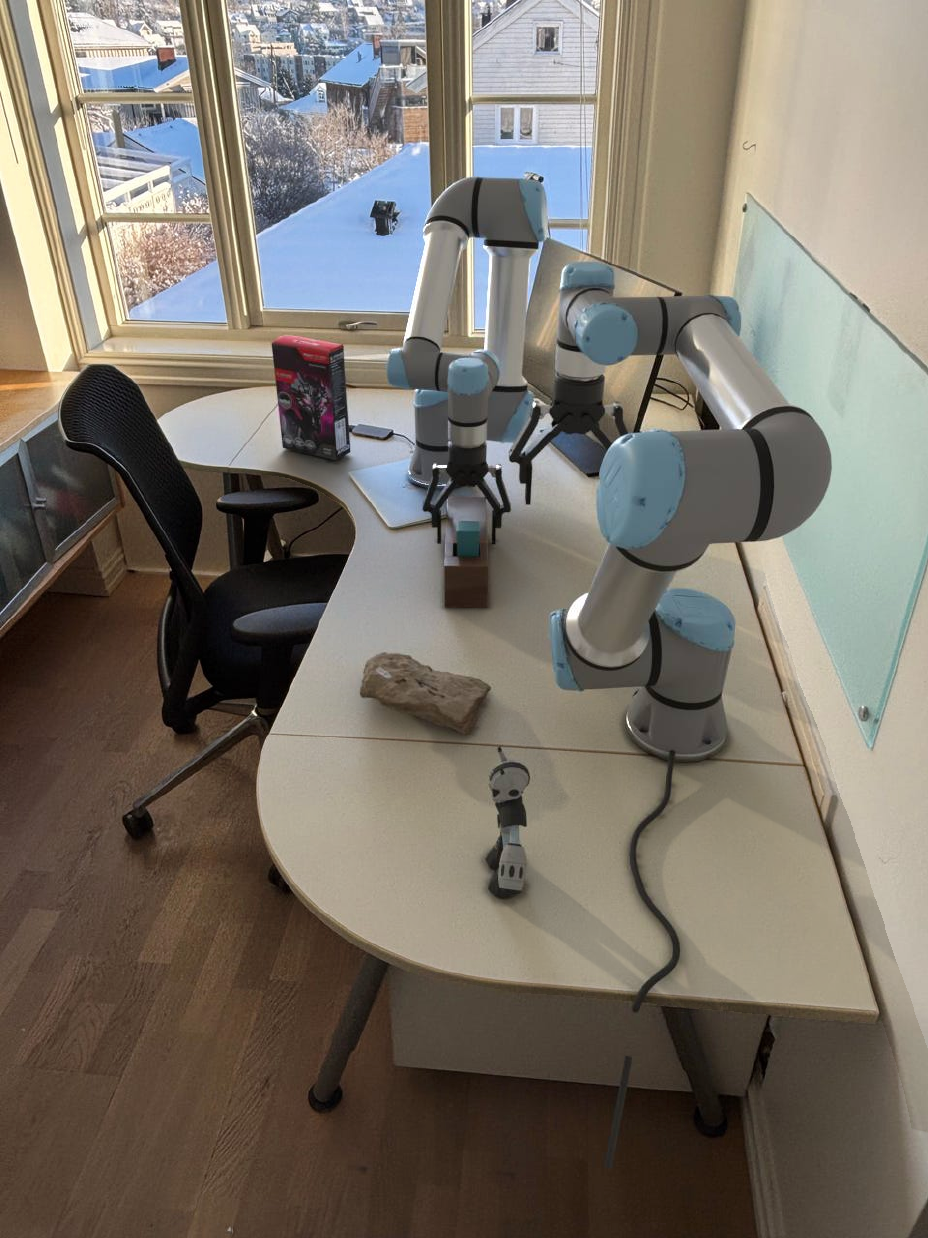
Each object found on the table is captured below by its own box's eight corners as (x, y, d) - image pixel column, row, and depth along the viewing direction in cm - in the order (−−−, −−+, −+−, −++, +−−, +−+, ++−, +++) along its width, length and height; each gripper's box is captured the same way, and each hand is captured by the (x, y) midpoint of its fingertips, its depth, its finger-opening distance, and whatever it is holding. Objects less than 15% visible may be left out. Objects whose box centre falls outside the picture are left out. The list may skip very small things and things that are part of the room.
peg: (477, 596, 175) (479, 531, 167) (456, 595, 175) (457, 530, 167) (477, 585, 178) (478, 520, 171) (457, 584, 178) (457, 520, 171)
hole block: (487, 607, 172) (488, 566, 167) (444, 607, 172) (444, 565, 167) (485, 535, 195) (486, 497, 190) (447, 535, 195) (447, 496, 190)
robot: (531, 936, 111) (540, 818, 100) (491, 937, 111) (496, 820, 100) (516, 817, 127) (522, 704, 116) (481, 818, 127) (484, 705, 116)
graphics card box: (280, 449, 231) (268, 340, 216) (296, 439, 236) (286, 332, 221) (337, 462, 224) (328, 351, 209) (352, 452, 229) (345, 343, 214)
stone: (334, 705, 142) (341, 671, 140) (369, 669, 156) (376, 637, 153) (461, 752, 139) (471, 718, 136) (486, 710, 152) (495, 679, 150)
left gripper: (525, 433, 182) (521, 532, 194) (409, 432, 182) (411, 531, 194) (527, 449, 176) (522, 550, 188) (407, 448, 176) (409, 549, 188)
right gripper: (659, 365, 140) (643, 491, 152) (495, 363, 140) (492, 490, 152) (668, 382, 134) (650, 512, 146) (496, 380, 134) (493, 511, 146)
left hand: (466, 540), depth 191 cm, fingers open, 10 cm apart
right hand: (569, 501), depth 149 cm, fingers open, 13 cm apart
